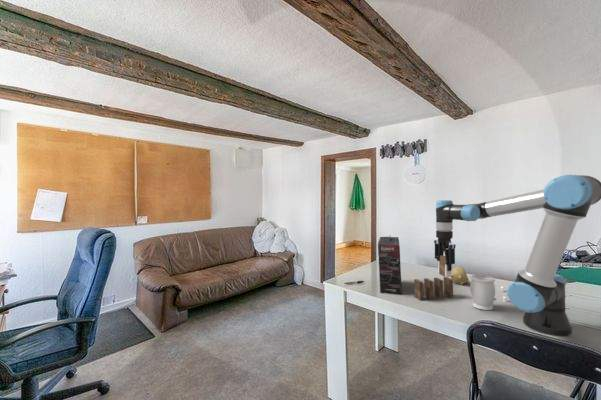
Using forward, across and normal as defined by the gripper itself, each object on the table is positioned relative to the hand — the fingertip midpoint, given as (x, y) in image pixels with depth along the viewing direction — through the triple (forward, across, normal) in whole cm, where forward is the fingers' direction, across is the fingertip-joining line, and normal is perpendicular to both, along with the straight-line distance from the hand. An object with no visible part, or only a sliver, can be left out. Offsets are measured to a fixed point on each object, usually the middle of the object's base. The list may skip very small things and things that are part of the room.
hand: (444, 274), depth 139 cm
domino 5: (+16, +10, -10) cm, 21 cm away
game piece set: (+16, +6, -36) cm, 40 cm away
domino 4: (0, 0, 0) cm, 0 cm away
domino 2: (+16, +10, +2) cm, 19 cm away
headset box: (+16, +31, +15) cm, 38 cm away
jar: (+15, -7, -16) cm, 23 cm away
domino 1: (+16, +10, +8) cm, 20 cm away
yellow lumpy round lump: (+16, +28, -30) cm, 44 cm away
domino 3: (+16, +10, -4) cm, 19 cm away
